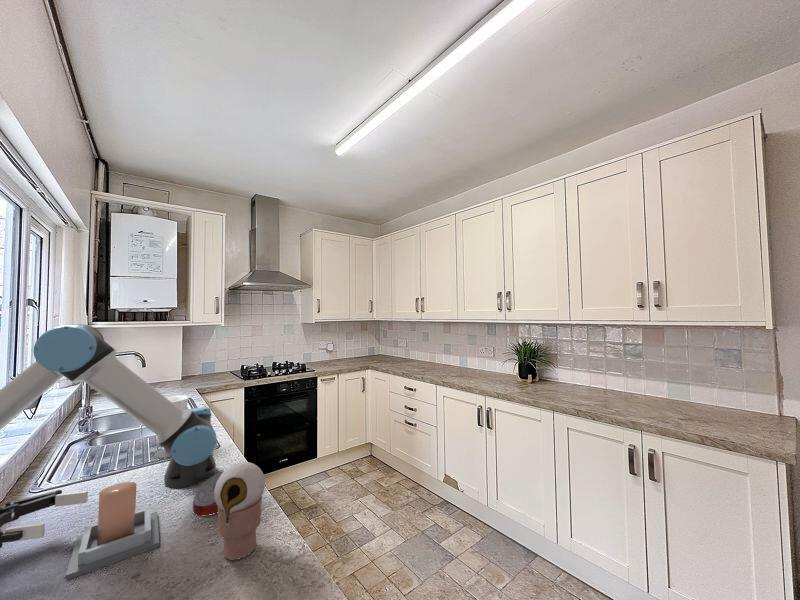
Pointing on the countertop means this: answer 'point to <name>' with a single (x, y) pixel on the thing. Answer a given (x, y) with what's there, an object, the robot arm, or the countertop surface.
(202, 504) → the canned food
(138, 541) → the grey rectangular tray
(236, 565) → the countertop surface
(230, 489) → the ice cream cone
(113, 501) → the peach round cylinder
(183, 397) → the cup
